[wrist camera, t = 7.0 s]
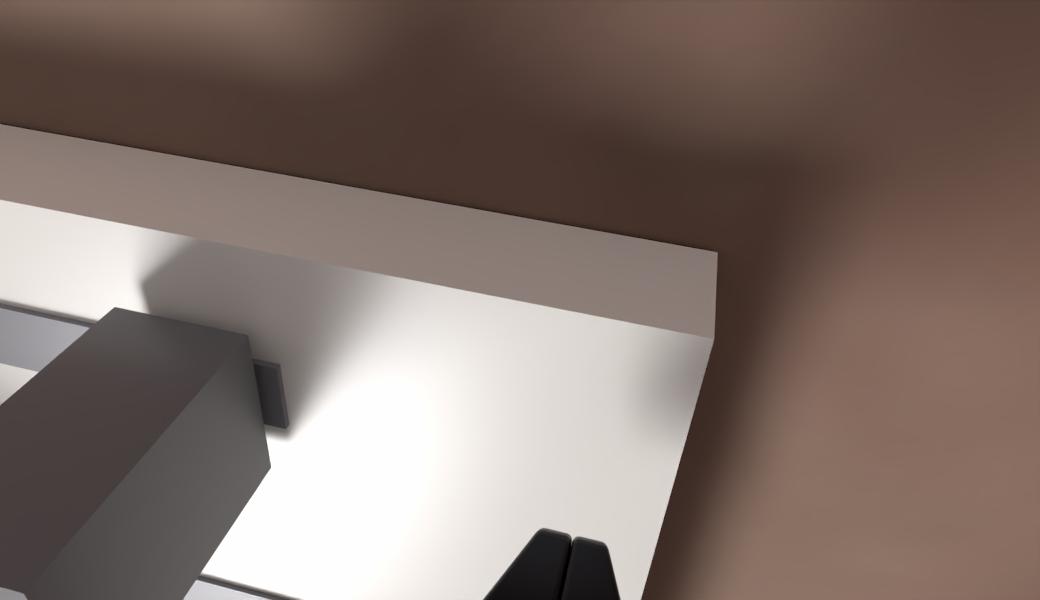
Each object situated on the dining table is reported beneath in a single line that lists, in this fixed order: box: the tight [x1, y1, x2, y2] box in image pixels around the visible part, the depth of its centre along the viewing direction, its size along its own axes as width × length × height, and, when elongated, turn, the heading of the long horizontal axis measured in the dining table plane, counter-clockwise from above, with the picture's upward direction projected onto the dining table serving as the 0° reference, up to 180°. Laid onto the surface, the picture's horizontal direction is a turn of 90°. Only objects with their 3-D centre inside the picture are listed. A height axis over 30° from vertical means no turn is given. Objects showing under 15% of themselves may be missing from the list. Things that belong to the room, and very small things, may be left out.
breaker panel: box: [0, 124, 718, 600], centre depth 16 cm, size 23×17×2 cm
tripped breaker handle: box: [0, 307, 271, 600], centre depth 9 cm, size 2×3×4 cm
